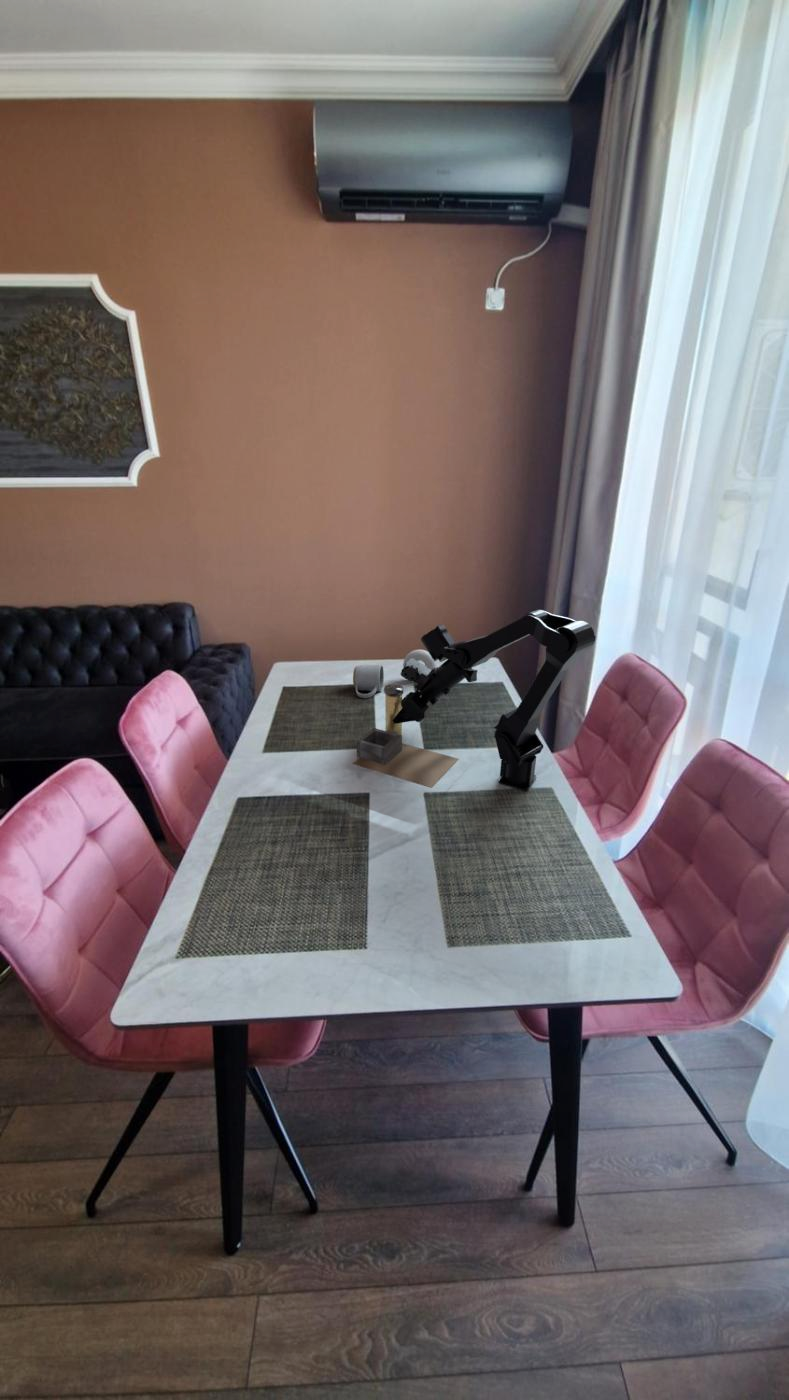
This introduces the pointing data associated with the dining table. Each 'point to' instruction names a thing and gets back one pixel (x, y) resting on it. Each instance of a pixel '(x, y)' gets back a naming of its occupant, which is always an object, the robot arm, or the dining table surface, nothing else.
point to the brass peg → (393, 707)
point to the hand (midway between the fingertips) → (400, 714)
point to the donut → (421, 658)
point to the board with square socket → (401, 758)
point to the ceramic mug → (368, 679)
